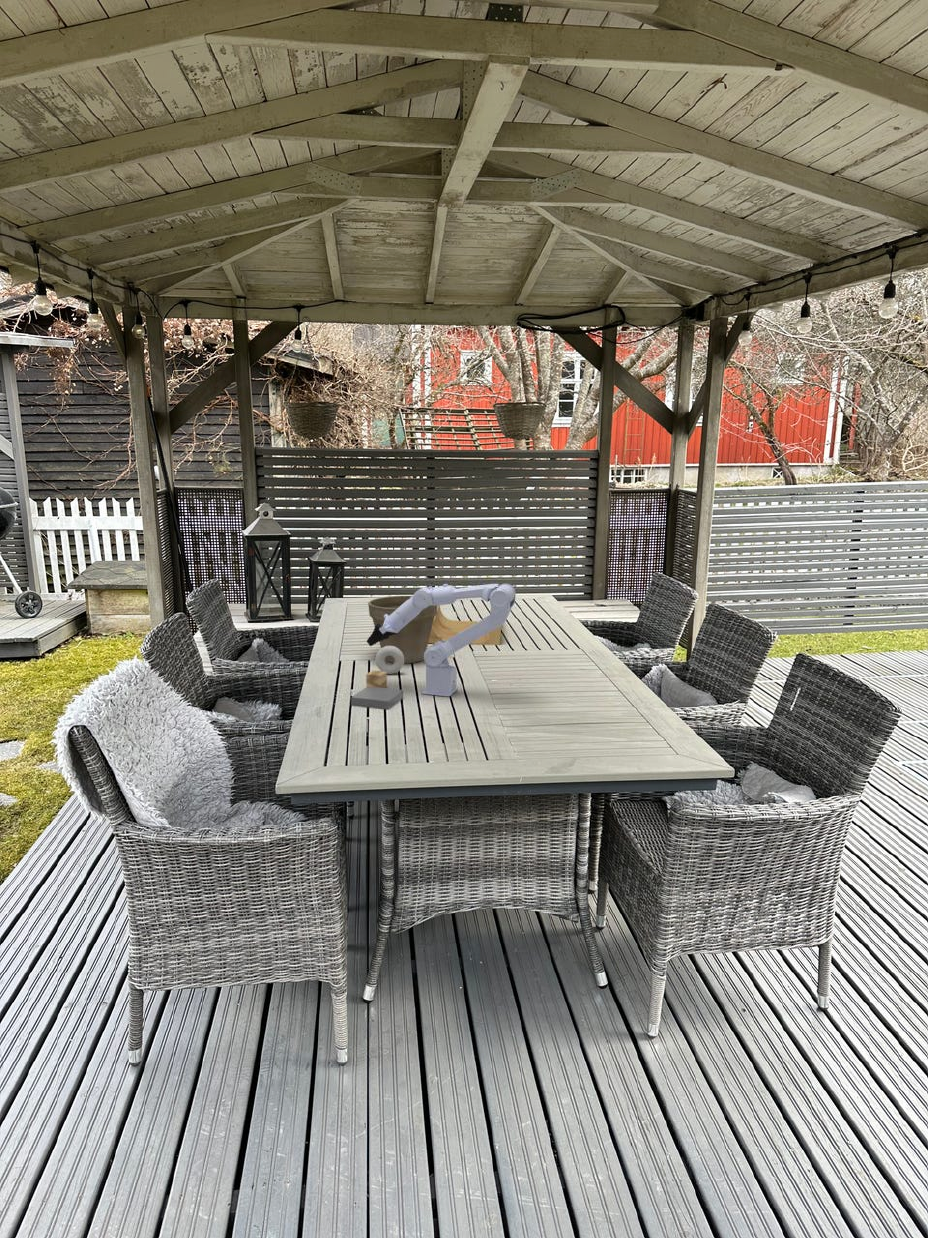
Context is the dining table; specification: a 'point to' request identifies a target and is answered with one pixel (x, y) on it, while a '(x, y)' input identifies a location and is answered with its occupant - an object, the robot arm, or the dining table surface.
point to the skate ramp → (458, 630)
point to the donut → (392, 652)
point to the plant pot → (404, 628)
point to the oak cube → (376, 679)
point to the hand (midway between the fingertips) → (373, 641)
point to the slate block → (377, 697)
